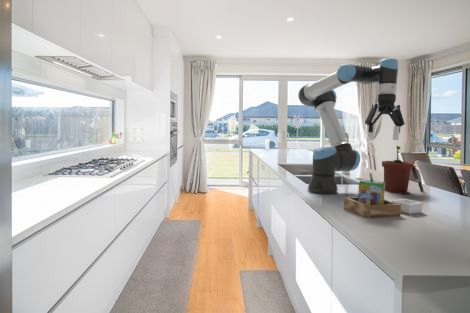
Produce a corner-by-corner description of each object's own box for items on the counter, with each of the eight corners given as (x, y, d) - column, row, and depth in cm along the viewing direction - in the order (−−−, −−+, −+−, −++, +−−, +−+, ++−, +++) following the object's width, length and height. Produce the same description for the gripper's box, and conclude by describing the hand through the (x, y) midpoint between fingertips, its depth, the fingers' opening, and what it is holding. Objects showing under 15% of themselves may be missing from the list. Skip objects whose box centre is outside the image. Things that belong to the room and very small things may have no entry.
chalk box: (382, 213, 123) (384, 175, 122) (357, 210, 128) (359, 173, 126) (384, 208, 131) (386, 173, 130) (360, 205, 136) (362, 171, 135)
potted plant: (381, 186, 188) (383, 144, 186) (423, 191, 178) (427, 146, 176) (378, 191, 173) (381, 145, 171) (424, 196, 163) (428, 148, 160)
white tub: (391, 209, 134) (392, 200, 134) (403, 207, 138) (404, 198, 137) (409, 214, 127) (409, 204, 127) (421, 212, 130) (422, 202, 130)
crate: (343, 208, 135) (344, 197, 134) (373, 206, 139) (374, 196, 139) (368, 217, 120) (368, 206, 120) (400, 215, 125) (401, 204, 124)
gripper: (369, 91, 140) (366, 139, 141) (415, 94, 147) (411, 140, 148) (358, 93, 147) (355, 139, 149) (402, 95, 154) (399, 139, 156)
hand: (383, 140), depth 149 cm, fingers open, 13 cm apart
